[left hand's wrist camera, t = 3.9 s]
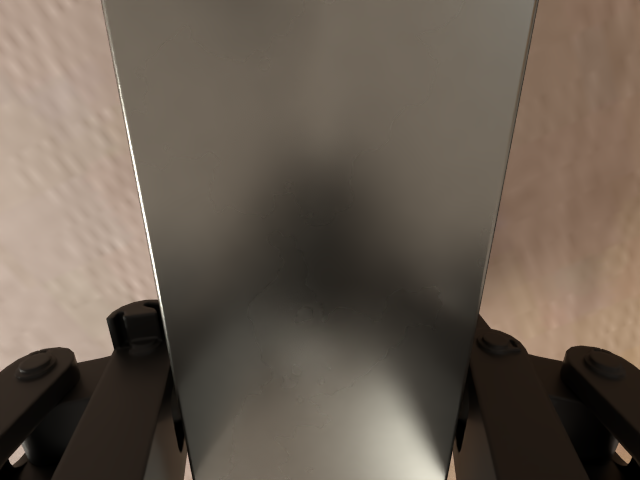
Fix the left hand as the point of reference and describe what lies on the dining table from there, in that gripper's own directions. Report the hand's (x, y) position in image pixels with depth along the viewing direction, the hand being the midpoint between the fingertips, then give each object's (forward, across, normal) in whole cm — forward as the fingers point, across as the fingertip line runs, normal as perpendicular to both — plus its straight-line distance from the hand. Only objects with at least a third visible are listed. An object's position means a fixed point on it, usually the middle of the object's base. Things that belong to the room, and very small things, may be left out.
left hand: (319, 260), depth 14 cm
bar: (+1, 0, -7) cm, 7 cm away
